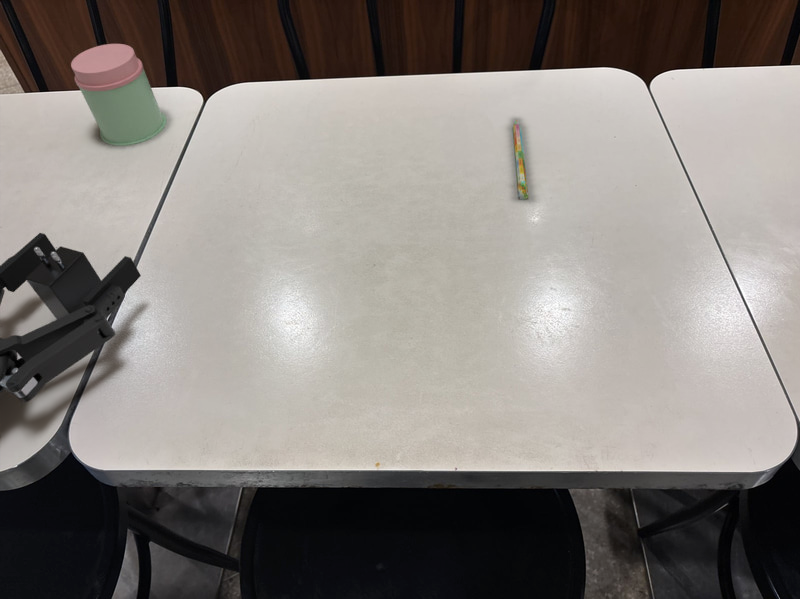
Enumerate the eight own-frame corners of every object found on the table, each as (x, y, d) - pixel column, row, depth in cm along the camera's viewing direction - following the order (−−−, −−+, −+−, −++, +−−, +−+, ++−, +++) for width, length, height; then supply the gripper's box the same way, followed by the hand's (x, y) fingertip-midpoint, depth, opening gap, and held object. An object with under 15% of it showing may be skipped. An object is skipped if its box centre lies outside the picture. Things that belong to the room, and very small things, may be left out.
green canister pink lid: (89, 145, 89) (51, 73, 81) (122, 110, 96) (90, 40, 87) (148, 150, 88) (116, 77, 79) (178, 113, 94) (151, 42, 85)
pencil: (511, 122, 87) (518, 200, 75) (511, 115, 86) (518, 193, 74) (520, 122, 86) (528, 200, 75) (520, 115, 86) (529, 193, 74)
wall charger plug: (63, 328, 65) (12, 263, 58) (94, 296, 68) (49, 230, 61) (85, 335, 64) (37, 270, 57) (116, 303, 67) (74, 236, 60)
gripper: (-142, 405, 57) (27, 255, 70) (41, 485, 50) (190, 302, 63) (-207, 360, 51) (-10, 205, 65) (-10, 443, 45) (165, 252, 58)
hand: (90, 253), depth 64 cm, fingers open, 11 cm apart
